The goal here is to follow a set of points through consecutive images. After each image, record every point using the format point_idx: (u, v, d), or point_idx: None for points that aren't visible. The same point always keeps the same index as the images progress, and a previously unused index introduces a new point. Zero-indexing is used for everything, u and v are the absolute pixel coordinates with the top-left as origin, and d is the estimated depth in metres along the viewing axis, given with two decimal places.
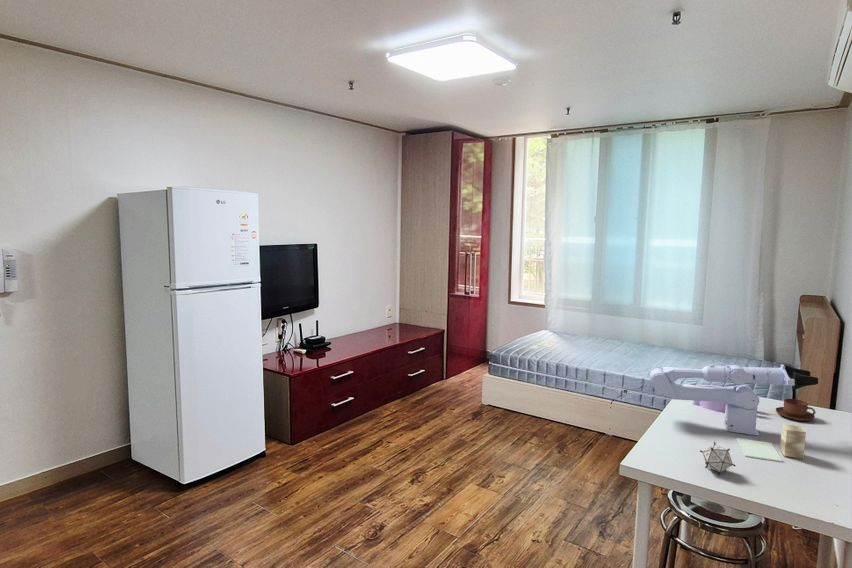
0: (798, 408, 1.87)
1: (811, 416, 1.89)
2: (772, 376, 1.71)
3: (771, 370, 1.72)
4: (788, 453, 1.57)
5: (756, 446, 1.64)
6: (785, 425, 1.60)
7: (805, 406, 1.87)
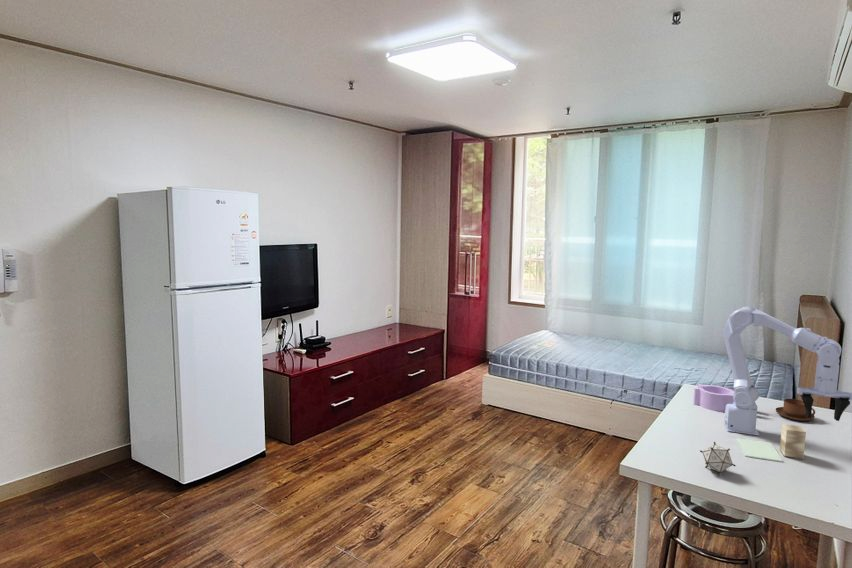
0: (798, 408, 1.87)
1: (811, 416, 1.89)
2: (816, 380, 1.61)
3: (823, 382, 1.59)
4: (788, 453, 1.57)
5: (756, 446, 1.64)
6: (785, 425, 1.60)
7: None
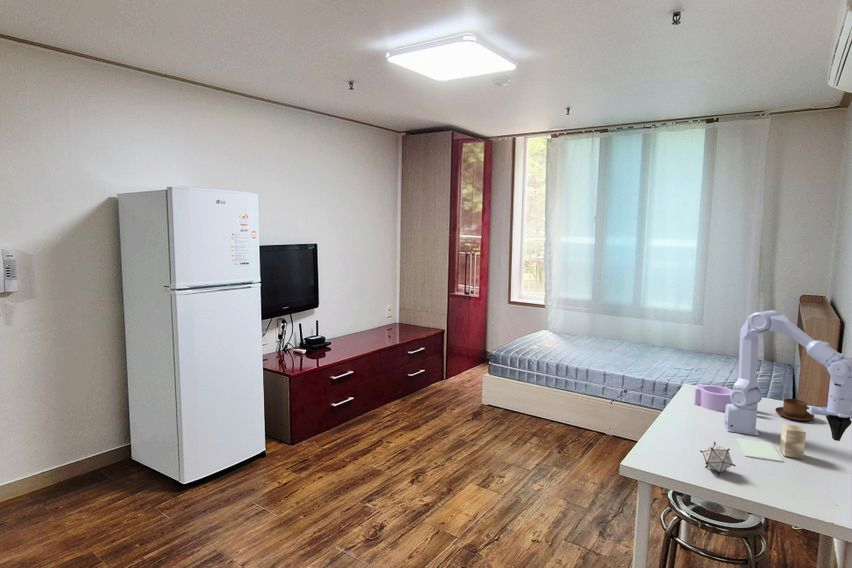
0: (798, 408, 1.87)
1: (811, 416, 1.88)
2: (829, 400, 1.53)
3: (837, 402, 1.51)
4: (788, 453, 1.57)
5: (756, 446, 1.64)
6: (785, 425, 1.60)
7: (805, 406, 1.87)
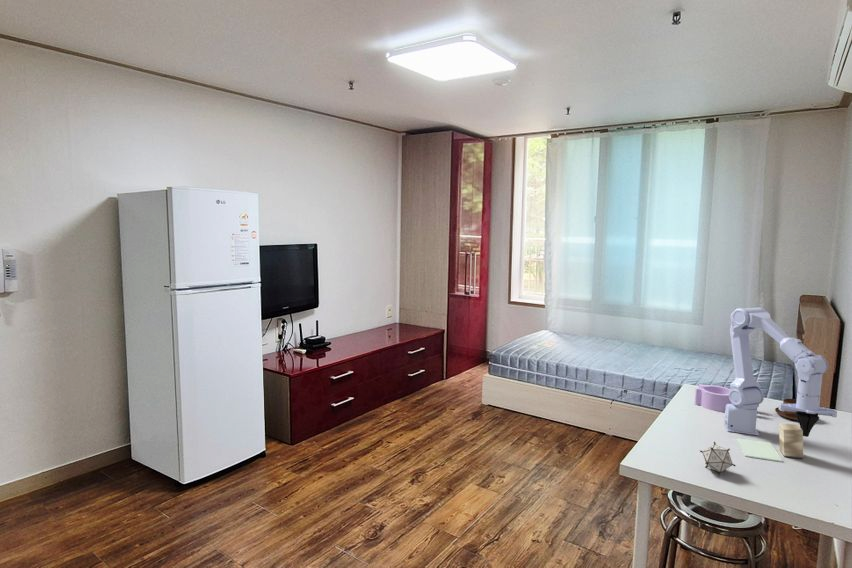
0: None
1: None
2: (798, 396, 1.56)
3: (805, 398, 1.54)
4: (788, 453, 1.57)
5: (756, 446, 1.64)
6: (782, 425, 1.60)
7: None
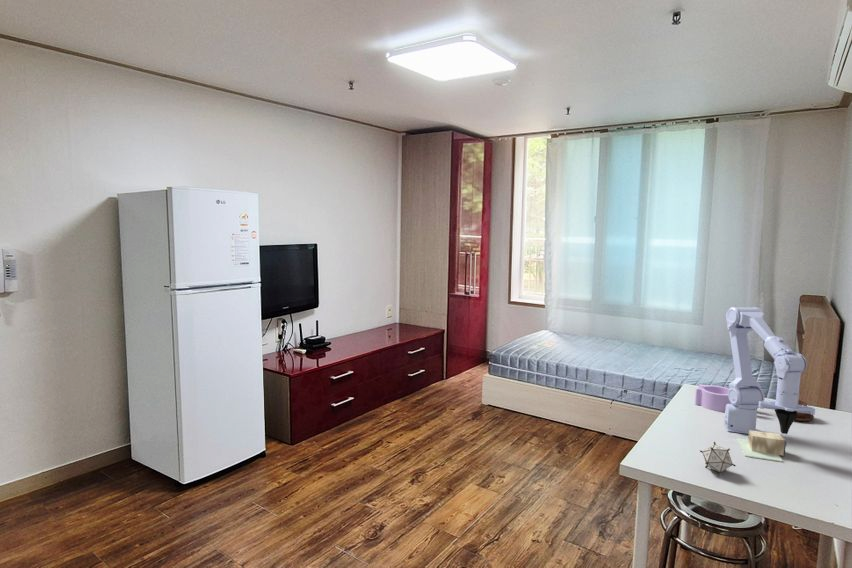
0: None
1: (810, 416, 1.88)
2: (777, 394, 1.58)
3: (784, 396, 1.56)
4: (780, 451, 1.58)
5: None
6: (748, 444, 1.64)
7: None
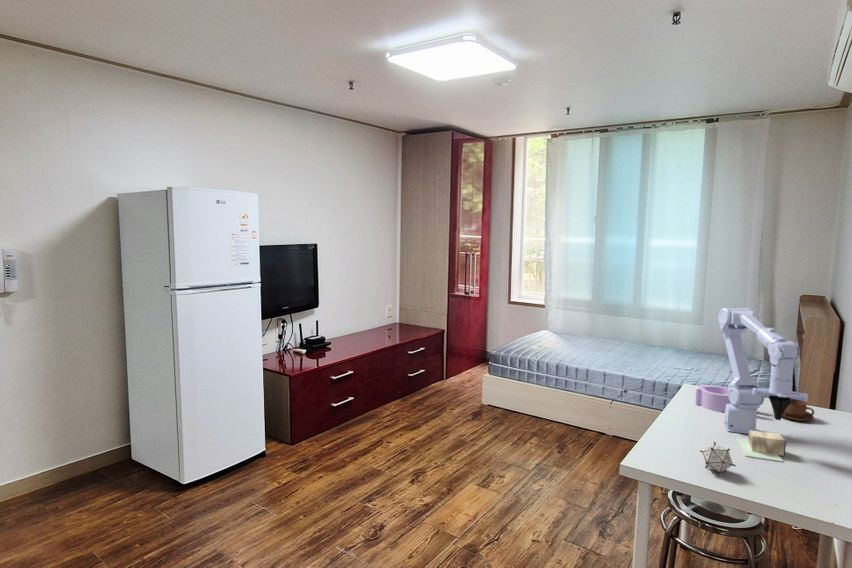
0: (797, 408, 1.87)
1: (810, 416, 1.88)
2: (771, 381, 1.60)
3: (777, 383, 1.58)
4: (780, 451, 1.58)
5: None
6: (748, 444, 1.64)
7: (804, 406, 1.86)
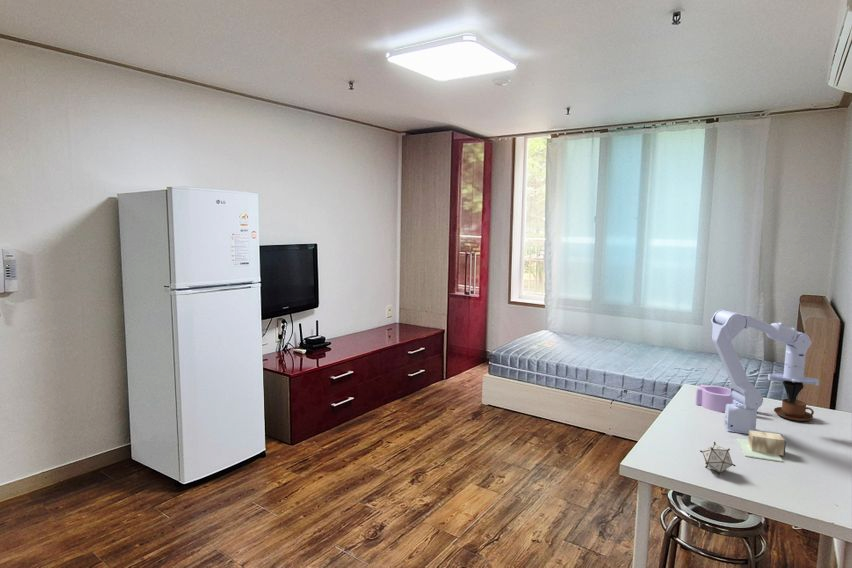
0: (797, 408, 1.87)
1: (809, 416, 1.88)
2: (785, 367, 1.76)
3: (791, 369, 1.74)
4: (780, 451, 1.58)
5: None
6: (748, 444, 1.64)
7: (803, 406, 1.86)
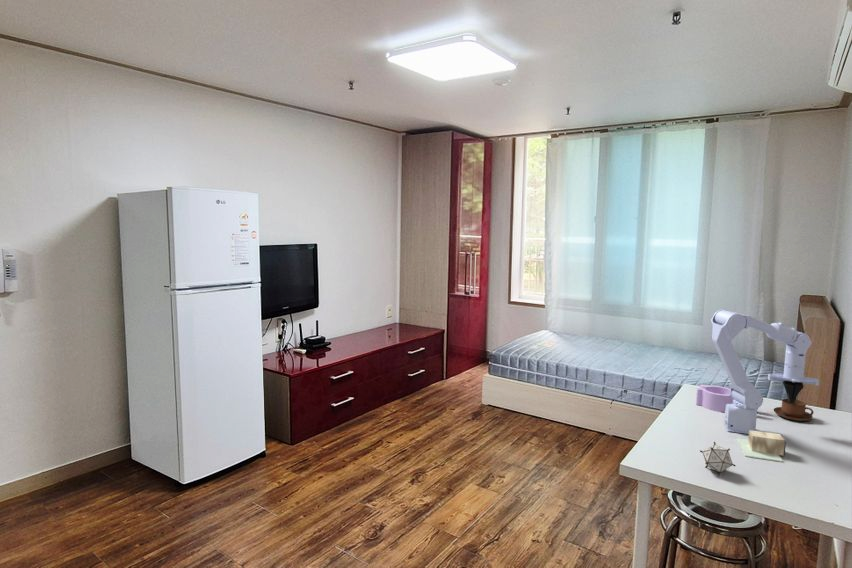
0: (796, 408, 1.87)
1: (809, 416, 1.88)
2: (785, 367, 1.76)
3: (791, 369, 1.74)
4: (780, 451, 1.58)
5: None
6: (748, 444, 1.64)
7: (803, 406, 1.86)
